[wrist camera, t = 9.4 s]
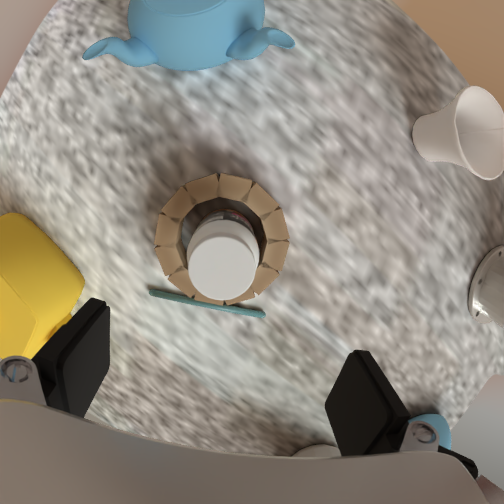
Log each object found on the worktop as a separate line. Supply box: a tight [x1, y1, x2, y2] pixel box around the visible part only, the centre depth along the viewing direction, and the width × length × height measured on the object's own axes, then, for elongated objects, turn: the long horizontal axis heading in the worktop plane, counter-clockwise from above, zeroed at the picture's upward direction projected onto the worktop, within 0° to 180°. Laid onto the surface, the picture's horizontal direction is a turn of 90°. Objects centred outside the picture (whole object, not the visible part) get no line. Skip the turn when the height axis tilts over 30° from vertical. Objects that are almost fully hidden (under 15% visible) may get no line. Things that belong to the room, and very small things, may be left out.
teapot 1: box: [0, 213, 85, 360], centre depth 24 cm, size 20×12×12 cm, turn 46°
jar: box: [292, 444, 341, 457], centre depth 33 cm, size 10×10×18 cm
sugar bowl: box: [408, 414, 451, 450], centre depth 38 cm, size 15×15×12 cm
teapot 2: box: [82, 0, 295, 71], centre depth 19 cm, size 15×15×10 cm
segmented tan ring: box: [154, 173, 290, 306], centre depth 28 cm, size 12×12×3 cm
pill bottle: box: [187, 209, 259, 300], centre depth 25 cm, size 6×6×10 cm
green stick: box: [149, 289, 266, 318], centre depth 31 cm, size 13×1×1 cm, turn 76°
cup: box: [412, 86, 504, 180], centre depth 23 cm, size 9×9×10 cm
